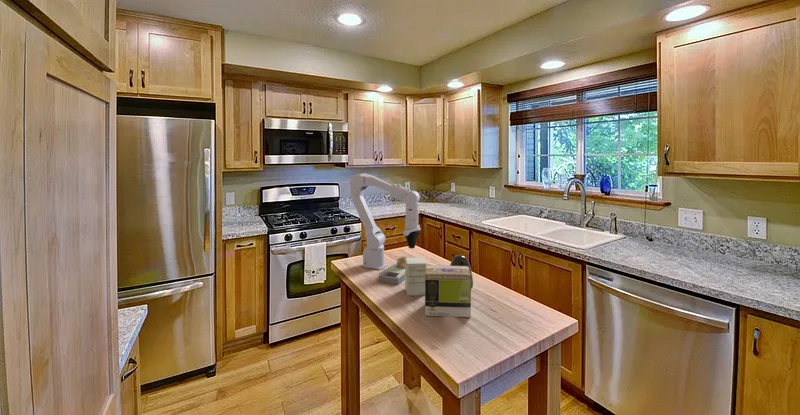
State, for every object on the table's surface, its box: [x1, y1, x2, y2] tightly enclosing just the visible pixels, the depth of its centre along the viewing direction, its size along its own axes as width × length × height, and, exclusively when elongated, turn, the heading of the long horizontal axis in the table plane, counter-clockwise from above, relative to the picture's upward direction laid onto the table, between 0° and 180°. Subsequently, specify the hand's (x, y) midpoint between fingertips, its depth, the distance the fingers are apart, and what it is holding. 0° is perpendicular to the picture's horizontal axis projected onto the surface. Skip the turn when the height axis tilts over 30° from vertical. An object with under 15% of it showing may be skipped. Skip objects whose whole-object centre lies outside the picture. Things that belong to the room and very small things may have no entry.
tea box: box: [424, 264, 472, 318], centre depth 122 cm, size 15×10×15 cm, turn 84°
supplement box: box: [404, 257, 427, 297], centre depth 139 cm, size 7×7×13 cm
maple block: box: [396, 255, 410, 268], centre depth 162 cm, size 4×4×4 cm
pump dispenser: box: [449, 254, 474, 290], centre depth 137 cm, size 10×10×15 cm
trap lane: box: [378, 261, 405, 286], centre depth 160 cm, size 9×24×4 cm, turn 156°
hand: (411, 247), depth 163 cm, fingers closed
